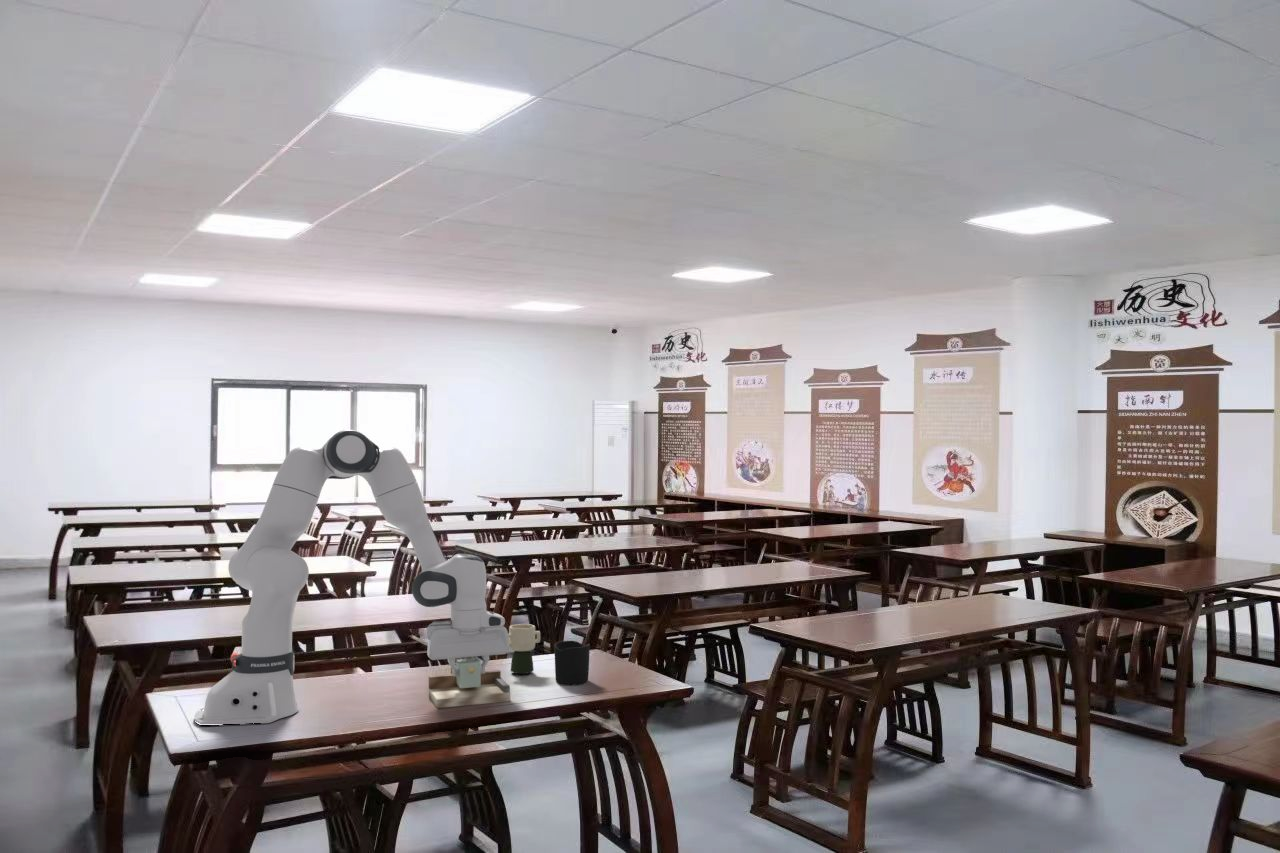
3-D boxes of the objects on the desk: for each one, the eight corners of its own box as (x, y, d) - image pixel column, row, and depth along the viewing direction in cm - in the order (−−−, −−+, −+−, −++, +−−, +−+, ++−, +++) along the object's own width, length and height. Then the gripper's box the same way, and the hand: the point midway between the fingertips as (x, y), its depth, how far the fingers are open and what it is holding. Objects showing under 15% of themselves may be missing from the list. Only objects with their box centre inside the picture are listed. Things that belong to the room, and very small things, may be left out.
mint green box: (461, 689, 237) (461, 665, 237) (456, 683, 243) (456, 659, 243) (481, 687, 239) (481, 663, 239) (476, 681, 245) (476, 657, 245)
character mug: (534, 668, 273) (534, 622, 273) (545, 673, 267) (545, 626, 267) (498, 673, 267) (498, 625, 267) (508, 678, 261) (509, 630, 261)
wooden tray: (436, 708, 231) (436, 687, 232) (428, 695, 243) (428, 675, 243) (510, 700, 238) (510, 680, 238) (499, 689, 249) (499, 669, 249)
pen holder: (588, 677, 263) (588, 640, 263) (591, 685, 253) (591, 647, 254) (553, 678, 262) (553, 641, 262) (555, 686, 252) (555, 648, 252)
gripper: (428, 624, 235) (428, 681, 235) (511, 618, 243) (511, 673, 243) (424, 619, 241) (424, 675, 241) (505, 614, 249) (505, 668, 248)
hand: (468, 674), depth 242 cm, fingers closed on mint green box, 5 cm apart
